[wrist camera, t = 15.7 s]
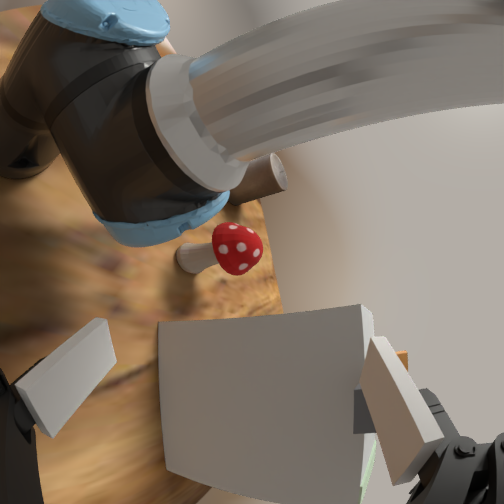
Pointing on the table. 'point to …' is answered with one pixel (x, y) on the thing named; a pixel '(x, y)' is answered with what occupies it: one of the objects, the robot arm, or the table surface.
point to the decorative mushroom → (223, 250)
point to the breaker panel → (268, 404)
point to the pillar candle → (260, 180)
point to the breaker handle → (361, 411)
